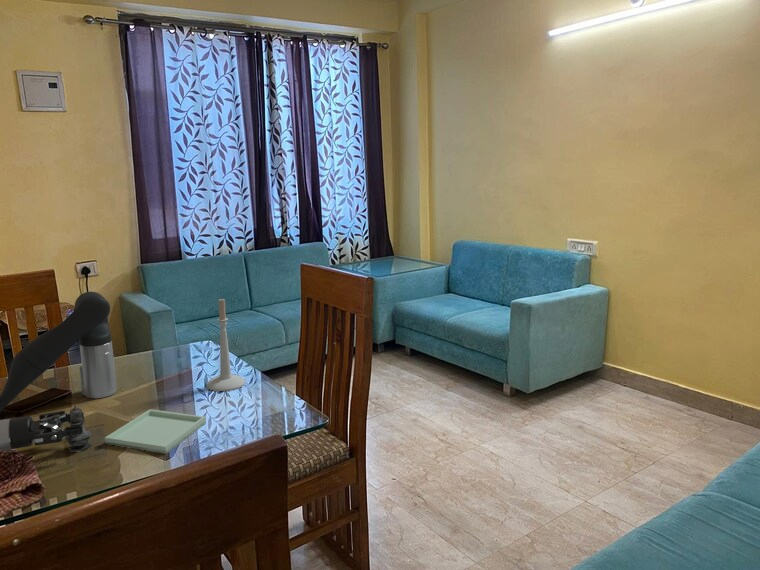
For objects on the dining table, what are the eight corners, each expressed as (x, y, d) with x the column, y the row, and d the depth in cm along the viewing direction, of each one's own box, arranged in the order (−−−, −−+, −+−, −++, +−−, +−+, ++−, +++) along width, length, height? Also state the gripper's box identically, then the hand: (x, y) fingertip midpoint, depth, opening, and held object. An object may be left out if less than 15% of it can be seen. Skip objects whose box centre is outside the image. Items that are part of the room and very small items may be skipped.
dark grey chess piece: (81, 454, 146) (76, 410, 143) (61, 452, 147) (56, 408, 145) (97, 443, 152) (92, 401, 149) (78, 441, 153) (73, 399, 150)
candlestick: (252, 380, 197) (249, 295, 191) (231, 393, 185) (227, 304, 179) (221, 375, 201) (216, 292, 195) (198, 388, 189) (192, 300, 183)
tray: (105, 444, 151) (104, 437, 151) (150, 415, 169) (149, 409, 168) (166, 453, 146) (165, 446, 146) (206, 423, 164) (205, 416, 163)
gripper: (16, 435, 149) (85, 424, 155) (7, 461, 136) (83, 447, 143) (12, 409, 147) (82, 398, 154) (3, 431, 135) (80, 419, 141)
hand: (83, 422), depth 148 cm, fingers open, 8 cm apart
